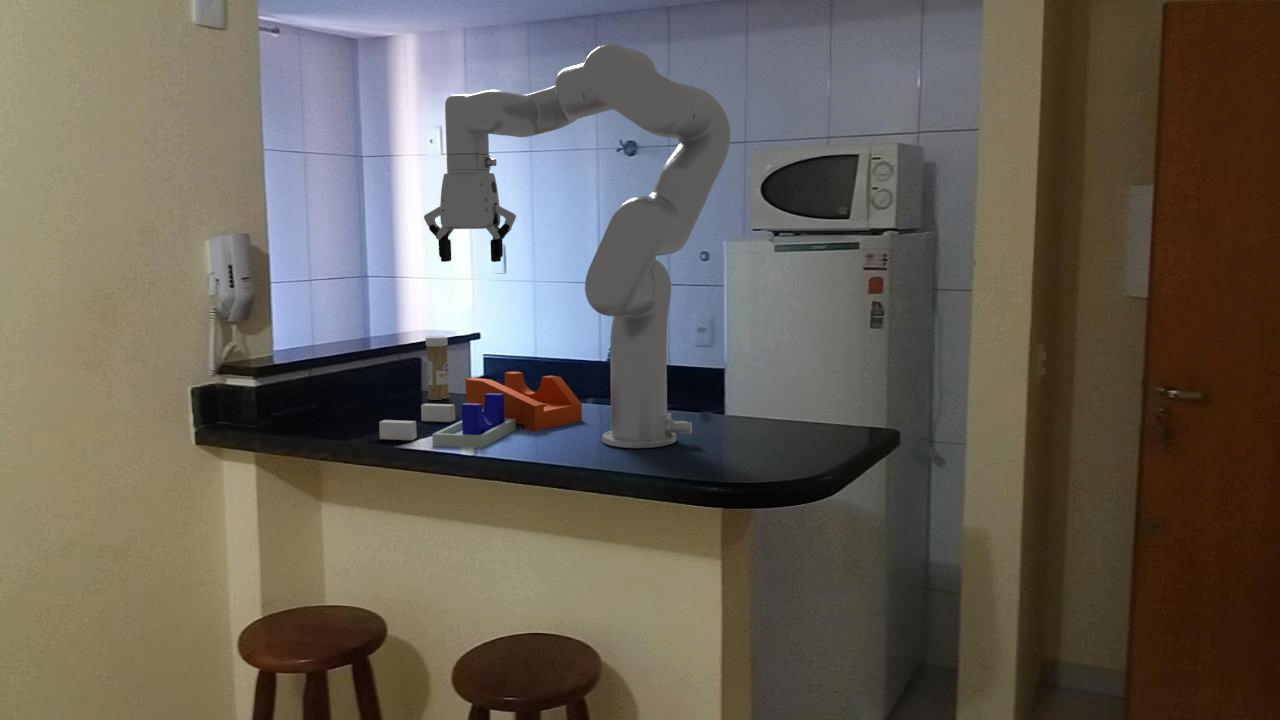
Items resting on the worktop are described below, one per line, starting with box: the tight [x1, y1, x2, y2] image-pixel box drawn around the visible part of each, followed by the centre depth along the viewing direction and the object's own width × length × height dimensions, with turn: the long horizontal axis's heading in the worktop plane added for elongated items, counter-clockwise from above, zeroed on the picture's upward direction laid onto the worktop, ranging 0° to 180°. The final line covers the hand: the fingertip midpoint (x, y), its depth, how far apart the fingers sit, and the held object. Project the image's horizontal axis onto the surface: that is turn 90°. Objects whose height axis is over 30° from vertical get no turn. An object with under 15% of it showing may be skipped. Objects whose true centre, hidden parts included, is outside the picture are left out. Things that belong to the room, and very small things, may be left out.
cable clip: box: [461, 393, 504, 435], centre depth 186 cm, size 12×4×6 cm, turn 167°
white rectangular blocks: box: [378, 403, 456, 441], centre depth 194 cm, size 6×19×3 cm, turn 167°
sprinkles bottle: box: [425, 335, 450, 401], centre depth 225 cm, size 5×5×13 cm
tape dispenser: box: [465, 371, 583, 432], centre depth 201 cm, size 18×13×8 cm
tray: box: [431, 418, 516, 449], centre depth 186 cm, size 9×16×2 cm, turn 167°
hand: (471, 261), depth 193 cm, fingers open, 9 cm apart
